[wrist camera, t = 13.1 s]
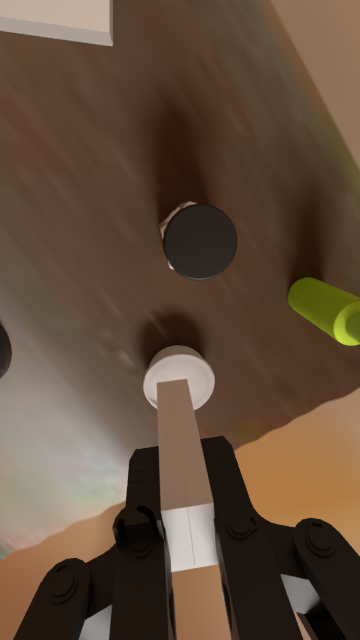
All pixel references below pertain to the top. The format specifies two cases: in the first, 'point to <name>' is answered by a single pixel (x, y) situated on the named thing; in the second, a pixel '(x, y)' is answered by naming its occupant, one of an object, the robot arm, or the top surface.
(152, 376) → the ramekin
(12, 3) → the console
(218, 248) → the jar
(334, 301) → the green bottle
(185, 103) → the top surface
